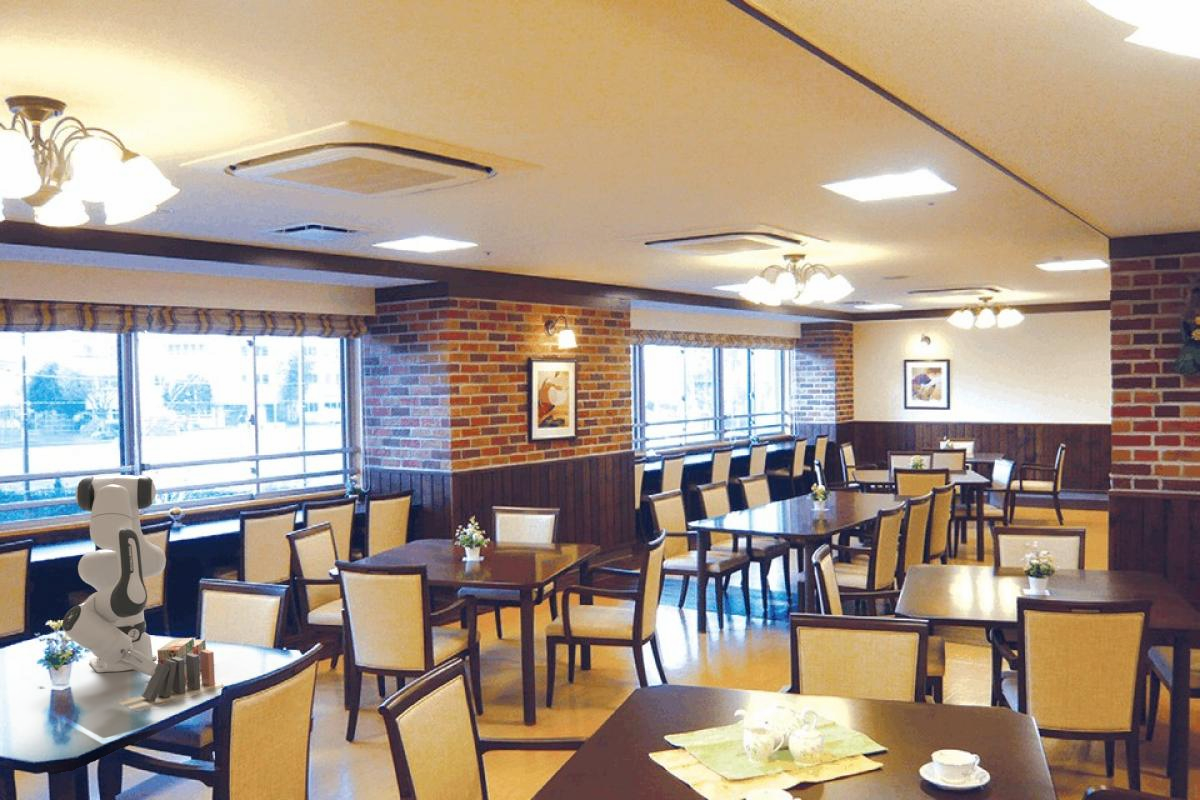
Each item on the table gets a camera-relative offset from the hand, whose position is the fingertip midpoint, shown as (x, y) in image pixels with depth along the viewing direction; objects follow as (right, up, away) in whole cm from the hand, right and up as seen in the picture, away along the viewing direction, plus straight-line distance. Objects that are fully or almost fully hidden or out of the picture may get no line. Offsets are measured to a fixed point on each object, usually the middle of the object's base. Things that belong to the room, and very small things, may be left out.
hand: (151, 673), depth 278 cm
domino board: (+4, -9, +4) cm, 10 cm away
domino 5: (+11, -7, +13) cm, 18 cm away
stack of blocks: (-1, -8, +24) cm, 25 cm away
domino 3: (+5, -7, +6) cm, 11 cm away
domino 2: (+2, -7, +3) cm, 8 cm away
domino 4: (+8, -7, +9) cm, 14 cm away
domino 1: (-1, -7, -1) cm, 7 cm away
